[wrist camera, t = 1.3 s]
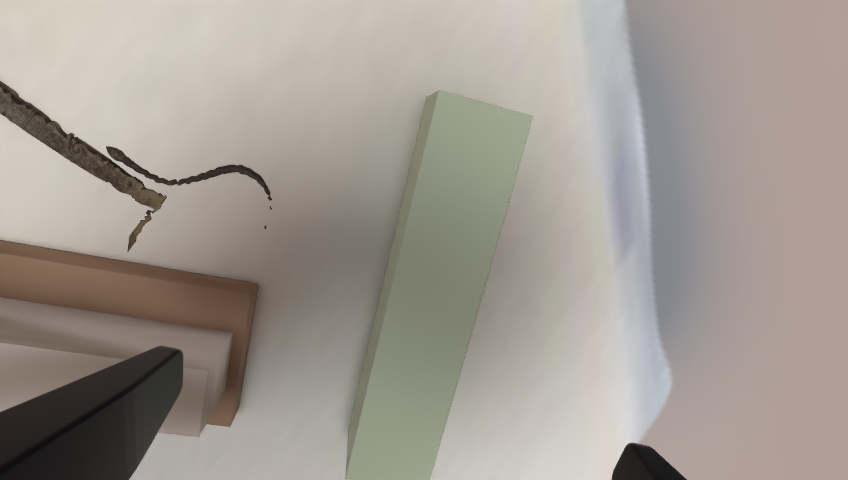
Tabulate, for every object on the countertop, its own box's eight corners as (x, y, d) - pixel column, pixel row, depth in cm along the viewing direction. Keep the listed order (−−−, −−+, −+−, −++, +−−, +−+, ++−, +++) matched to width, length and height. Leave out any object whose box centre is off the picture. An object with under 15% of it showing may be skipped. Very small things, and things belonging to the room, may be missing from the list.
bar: (418, 435, 26) (427, 488, 22) (348, 425, 25) (345, 479, 21) (504, 118, 22) (533, 116, 18) (425, 97, 21) (438, 90, 18)
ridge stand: (238, 408, 24) (205, 479, 19) (-170, 358, 21) (-334, 427, 16) (258, 283, 22) (228, 326, 17) (-177, 210, 19) (-360, 237, 14)
